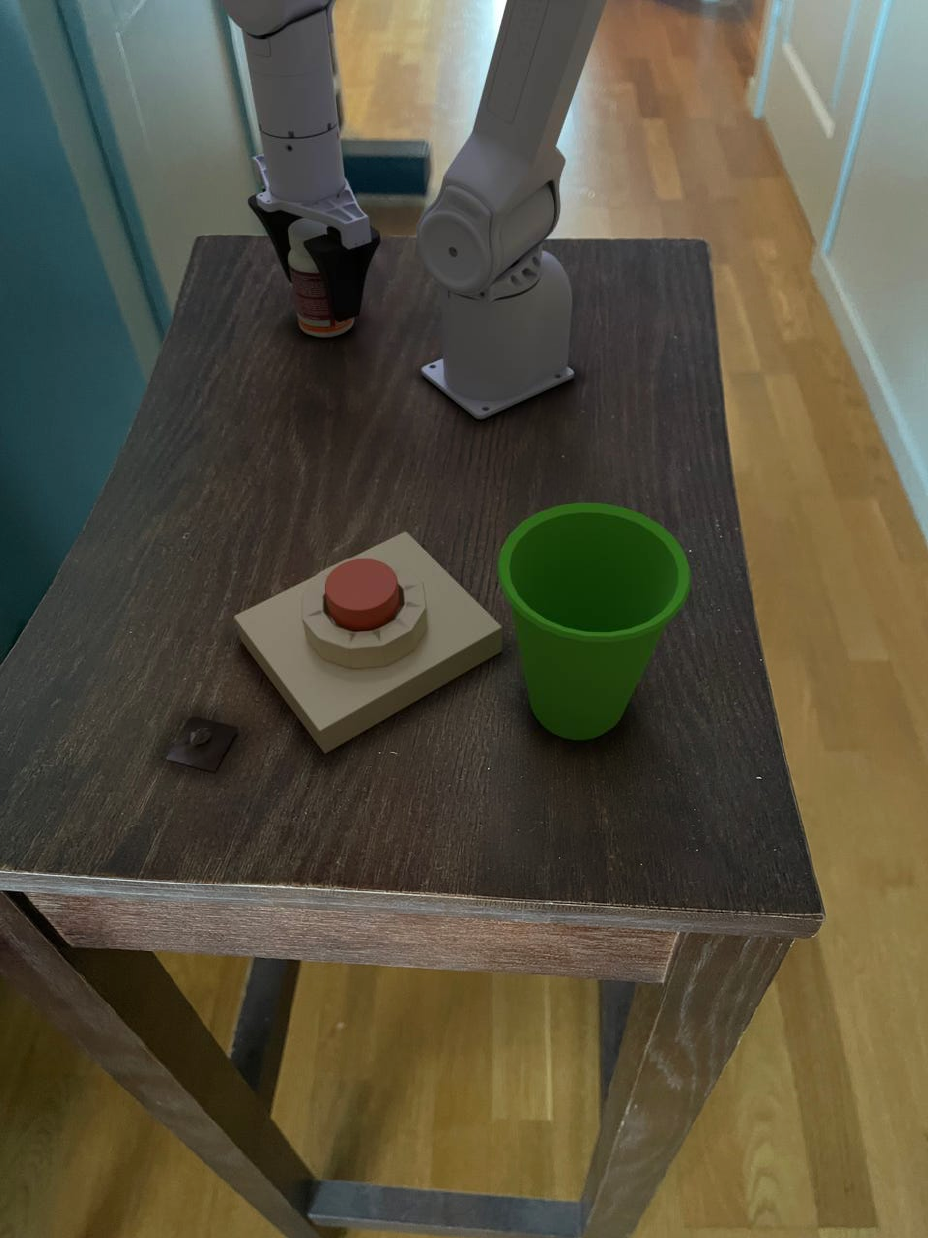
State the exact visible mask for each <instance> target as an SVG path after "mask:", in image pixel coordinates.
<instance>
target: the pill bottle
mask: <svg viewBox="0 0 928 1238" xmlns="http://www.w3.org/2000/svg"><path fill="white" fill-rule="evenodd" d="M326 227H328V226H327V225H325V224H323V223H320V222H317V221H313V220H310V219H307V218H302V219H299V220H297V221H295V222H293V223H292V224H291V225H290V226H289V228H288V234H289V243H290V246H291V250H290V252H289V255H288V263H289V269H290V274H291V280H292V283H291V285H292V292H293V297H294V298H293V299H294V303H295V309H296V316H297V321H298V326H299V328H300V330H301V331H302V332H304V333H305V334H307V335H309V336H312V337H317V338H333V337H337V336H340V335H342V334H345V333H346V332H348V331H349V330H350V329H352V327H353V325H354V323H355V317H353V318H351V319H348V320H345V321H343V322H337V321H336V320H335V319H334V317H333V315H332V313H331V310H330V307H329V304H328V300H327V296H326V292H325V288H324V284H323V281H322V278H321V276H320V273H319V271H318V269H317V266H316V264H315V263H314V261H313V259H312V257H311V256H310V254H309V253H308V251H307V250H306V249H305V247H304V244H303V241H305V240H308V239H311V238H314V237H317V236H320V235H323V234H326V235H327V229H326Z"/></svg>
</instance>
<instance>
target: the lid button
mask: <svg viewBox="0 0 928 1238" xmlns="http://www.w3.org/2000/svg"><path fill="white" fill-rule="evenodd" d="M325 593H326V599H327V604H328V609H329V613H330V615H331V617H332V619H333V620H334V621H335V622H336V623H337V624H338V625H340V626H342V627H343V628H346V629H349V630H353V631H369V630H374V629H377V628H380V627H382V626H384V625H385V624H387V623H388V622H389V621H391V620H392V619H393V618H394V616H395V615H396V613H397V611H398V609H399V605H400V599H399V590H398V581H397V577H396V574H395V572H394V571H393V570H392V569H391V568H390V567H389V566H388V565H387V564H385V563H383V562H381V561H378V560H374V559H367V558H362V559H354V560H350V561H347V562H345V563H342V564H341V565H339V566H337V567H336V568H335V569H334V570H333V571H332V572H331V573H330V574H329V576H328V577H327V580H326V583H325Z"/></svg>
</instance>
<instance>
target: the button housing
mask: <svg viewBox="0 0 928 1238" xmlns="http://www.w3.org/2000/svg"><path fill="white" fill-rule="evenodd" d="M362 558H367V559H374V560H378V561H381V562H383V563H385V564H387V565H388V566H389V567H390V568H391V569H392V570H393V571H394V572H395V574H396V577H397V581H398V590H399V599H400V605H399V609H398V611H397V613H396V615H395V616H394V618H393V619H392V620H391V621H389V622H388V623H387V624H385V625H384V626H382V627H380V628H377V629H374V630H369V631H353V630H349V629H346V628H343V627H342V626H340V625H338V624H337V623H336V622H335V621H334V620H333V619H332V617H331V615H330V613H329V609H328V604H327V599H326V593H325V583H326V580H327V577H328V576H329V574H330V573H331V572H332V571H333V570H334V569H335V568H336V567H337V566H339V565H341V564H342V563H345V562H347V561H350V560H354V559H362ZM233 619H234V623H235V627H236V629H237V632H238V635H239V638H240V639H239V640H240V641H241V642H242V644H243V645H244V647H245V648H246V649H247V651H248V652H249V654H250V655H251V657H252V658H253V659H254V660H255V662H256V663H257V665H258V666H259V667H260V668H261V670H262V671H263V672H264V674H265V675H266V676H267V678H268V679H269V681H270V682H271V684H272V685H273V686H274V687H275V689H276V690H277V691H278V692H279V693H278V694H280V696H281V697H282V698H283V699H284V701H285V702H286V703H287V705H288V706H289V708H290V709H291V711H292V712H293V713H294V714H295V715H296V717H297V718H298V720H299V721H300V722H301V724H302V726H303V727H304V728H305V729H306V730H307V732H308V733H309V734H310V736H311V737H312V739H313V740H314V741H315V743H316V744H317V745H318V747H319V748H320V749H321V751H322V752H323V753H324V754H327V753H329V752H331V751H333V750H334V749H336V748H337V747H340V746H342V745H343V744H344V743H346V742H348V741H350V740H351V739H353V738H355V737H357V736H359V735H360V734H362V733H364V732H365V731H367V730H369V729H370V728H373V727H374V726H376V725H378V724H379V723H381V722H383V721H384V720H387V719H388V718H389V717H391V716H393V715H394V714H397V713H398V712H400V711H401V710H403V709H405V708H406V707H408V706H410V705H412V704H414V703H415V702H417V701H419V700H420V699H422V698H423V697H425V696H428V695H429V694H430V693H432V692H434V691H435V690H437V689H439V688H441V687H442V686H445V685H446V684H448V683H449V682H452V681H453V680H455V679H457V678H458V677H461V675H463V674H465V673H466V672H469V671H470V670H472V669H473V668H476V667H477V666H478V665H481V664H483V663H485V662H486V661H487V660H489V659H490V658H492V657H494V656H496V655H497V654H499V653H501V652H502V649H503V627H502V625H501V624H500V623H499V622H498V621H497V620H496V619H495V618H494V617H493V616H491V614H490V613H489V612H488V611H487V610H485V608H484V607H482V605H480V603H479V602H478V601H477V600H476V599H475V598H474V597H473V596H471V595H470V593H469V592H468V591H467V590H466V589H464V588H463V586H462V585H460V583H458V582H457V581H456V579H455V578H453V576H452V575H451V574H450V573H449V572H448V571H447V570H445V569H444V568H443V566H441V565H440V563H438V561H437V560H435V559H434V558H433V557H432V556H431V555H430V554H429V553H428V551H426V549H424V548H423V547H422V545H420V543H419V542H417V540H415V539H414V537H412V535H410V534H409V533H408V532H407V531H406V530H405V531H403V532H401V533H399V534H397V535H395V536H393V537H391V538H390V539H387V540H384V541H383V542H381V543H379V544H376V545H374V546H373V547H371V548H369V549H367V550H364V551H363V552H361V553H359V554H357V555H355V556H352V557H351V558H350V557H349V558H345V559H343V560H341V561H339V562H337V563H335V564H333V565H331V566H329V567H327V568H325V569H323V570H321V571H319V572H318V573H317V574H316V575H314V576H312V577H310V578H308V579H306V580H304V581H302V582H300V583H298V584H296V585H294V586H292V587H290V588H287V589H286V590H284V591H282V592H279V593H278V594H275V595H273V596H271V597H269V598H268V599H266V600H263V601H261V602H259V603H258V604H256V605H254V606H252V607H250V608H247V609H246V610H244V611H242V612H239V613H237V614H236V615H233Z"/></svg>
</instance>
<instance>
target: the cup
mask: <svg viewBox="0 0 928 1238" xmlns="http://www.w3.org/2000/svg"><path fill="white" fill-rule="evenodd" d="M496 571H497V576H498V577H497V578H498V584H499V586H500V589H501V590H502V592H503V594H504V596H505V598H506V600H507V601H508V602H509V603H510V609H511V614H512V619H513V624H514V630H515V634H516V640H517V644H518V645H517V646H518V649H519V654H520V660H521V666H522V670H523V675H524V680H525V681H524V682H525V685H526V690H527V691H526V692H527V695H528V701H529V707H530V709H531V711H532V713H533V715H534V717H535V718H536V719H537V720H538V722H539V723H540V724H541V725H542V726H543V728H545V729H546V730H547V731H549V732H550V733H551V734H554V735H556V736H558V737H560V738H563V739H567V740H572V741H587V740H593V739H595V738H598V737H601V736H603V735H604V734H605V733H607V732H608V731H610V730H611V729H613V728H614V727H616V725H617V724H618V723H619V721H620V720H621V719H622V717H623V715H624V713H625V711H626V709H627V707H628V704H629V702H630V701H631V698H632V696H633V694H634V692H635V690H636V688H637V686H638V684H639V682H640V680H641V677H642V675H643V674H644V672H645V669H646V667H647V665H648V663H649V661H650V660H651V657H652V655H653V653H654V651H655V649H656V647H657V645H658V644H659V641H660V639H661V636H662V634H663V633H664V631H665V628H666V626H667V624H668V622H670V621H671V620H673V619H674V618H675V616H676V615H677V614H678V613H679V612H680V610H681V609H682V608H683V607H684V605H685V604H686V601H687V599H688V595H689V593H690V590H691V587H692V585H691V582H692V580H691V579H692V578H691V577H692V576H691V574H692V571H691V567H690V565H689V562H688V559H687V556H686V553H685V551H684V550H683V548H682V546H681V545H680V543H679V542H678V541H677V539H676V538H675V536H674V535H673V534H672V533H670V532H669V531H668V530H667V529H666V528H665V527H663V526H662V525H661V524H660V523H659V522H657V521H655V520H653V519H651V518H650V517H648V516H647V515H645V514H643V513H640V512H638V511H635V510H632V509H629V508H626V507H624V506H621V505H614V504H608V503H603V502H573V503H568V504H567V503H566V504H560V505H556V506H552V507H550V508H547V509H544V510H541V511H539V512H537V513H535V514H533V515H532V516H530V517H528V518H527V519H524V520H523V521H522V522H521V523H519V525H518V526H516V527H515V529H513V530H512V531H511V532H510V534H509V535H508V537H507V538H506V540H505V542H504V544H503V545H502V547H501V548H500V550H499V554H498V560H497V565H496Z"/></svg>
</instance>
